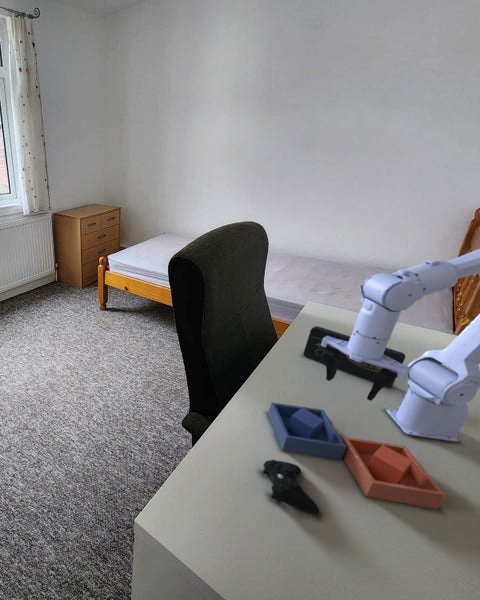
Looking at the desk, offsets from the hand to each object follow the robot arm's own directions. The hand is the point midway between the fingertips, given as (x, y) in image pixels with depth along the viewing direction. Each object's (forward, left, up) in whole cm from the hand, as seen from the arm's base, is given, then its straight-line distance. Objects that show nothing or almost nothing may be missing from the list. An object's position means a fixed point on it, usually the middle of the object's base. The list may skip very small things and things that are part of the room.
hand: (349, 388), depth 73 cm
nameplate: (-12, -25, -11) cm, 30 cm away
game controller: (+16, +20, -11) cm, 28 cm away
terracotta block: (-3, +13, -10) cm, 17 cm away
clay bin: (-3, +13, -10) cm, 17 cm away
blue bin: (+8, +5, -10) cm, 14 cm away
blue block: (+8, +5, -10) cm, 14 cm away
